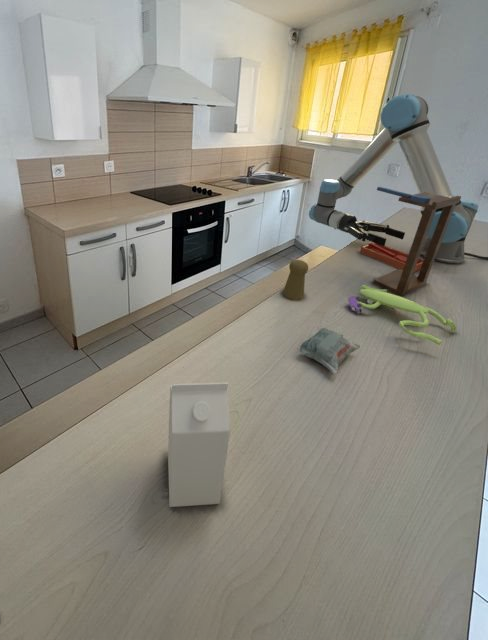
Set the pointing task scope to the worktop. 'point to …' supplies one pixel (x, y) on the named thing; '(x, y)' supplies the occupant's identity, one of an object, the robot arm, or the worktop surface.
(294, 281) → the cork
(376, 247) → the red spoon
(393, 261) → the tray
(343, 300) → the worktop surface
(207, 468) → the milk carton
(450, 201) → the slanted wooden stand
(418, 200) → the blue spoon
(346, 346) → the packaged food
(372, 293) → the figurine
